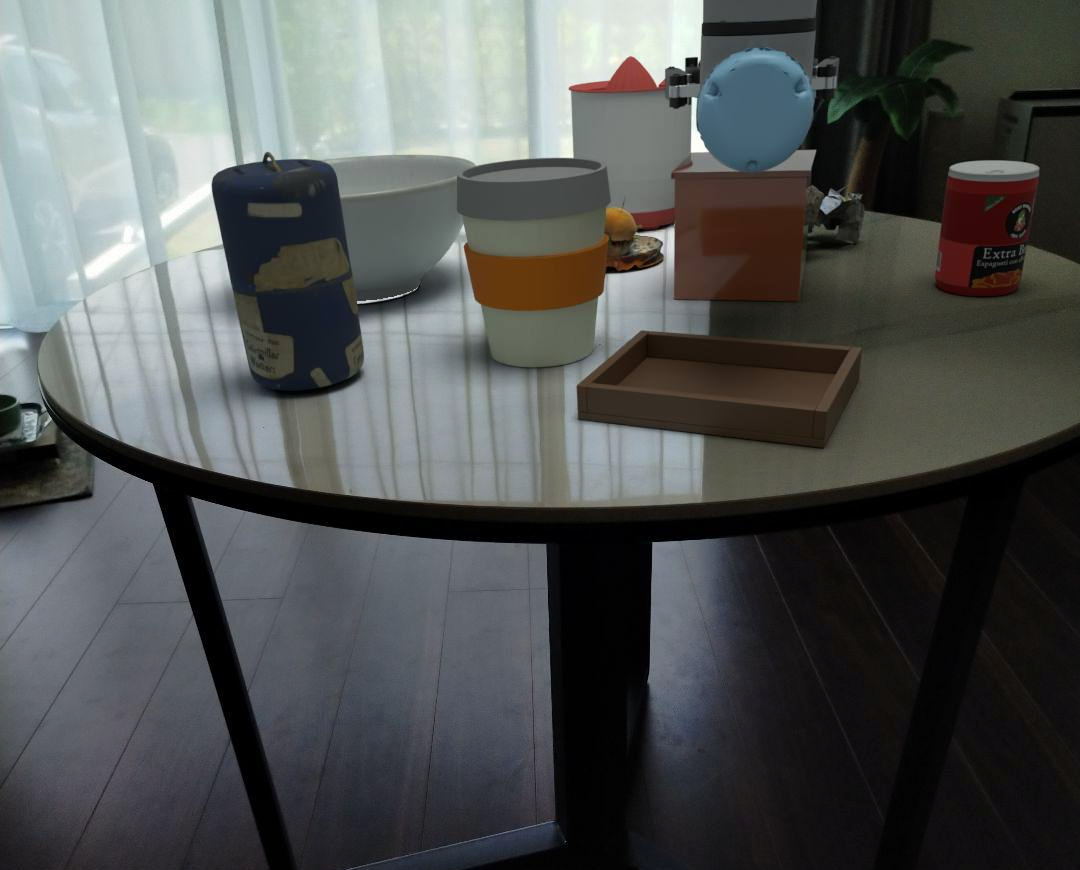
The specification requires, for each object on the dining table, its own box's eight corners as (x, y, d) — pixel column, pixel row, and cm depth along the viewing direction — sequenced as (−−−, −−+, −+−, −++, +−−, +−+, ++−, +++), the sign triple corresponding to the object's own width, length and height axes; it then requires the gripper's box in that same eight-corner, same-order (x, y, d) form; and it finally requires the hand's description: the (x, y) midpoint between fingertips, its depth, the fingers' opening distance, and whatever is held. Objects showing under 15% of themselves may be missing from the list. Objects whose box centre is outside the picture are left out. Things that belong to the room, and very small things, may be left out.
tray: (859, 380, 76) (862, 347, 75) (824, 448, 65) (827, 411, 64) (641, 360, 83) (640, 329, 82) (577, 419, 72) (576, 385, 71)
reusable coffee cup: (443, 351, 88) (424, 173, 81) (556, 320, 94) (547, 153, 87) (525, 385, 79) (512, 188, 72) (644, 349, 85) (643, 164, 78)
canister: (366, 355, 88) (334, 139, 80) (368, 391, 80) (333, 153, 71) (256, 367, 87) (212, 148, 78) (247, 404, 79) (196, 165, 70)
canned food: (977, 302, 92) (996, 177, 86) (915, 284, 98) (929, 166, 93) (1038, 288, 94) (1061, 166, 89) (974, 272, 101) (991, 157, 96)
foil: (906, 220, 109) (811, 152, 102) (849, 307, 112) (752, 248, 105) (848, 198, 118) (757, 135, 111) (797, 279, 122) (705, 223, 115)
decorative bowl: (434, 250, 124) (423, 147, 118) (527, 295, 103) (519, 172, 97) (217, 285, 114) (193, 175, 109) (270, 343, 93) (244, 210, 87)
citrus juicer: (703, 209, 137) (707, 48, 128) (679, 236, 123) (681, 57, 113) (594, 209, 142) (590, 53, 132) (559, 235, 128) (551, 63, 118)
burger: (645, 245, 120) (645, 180, 117) (678, 266, 110) (679, 196, 106) (549, 255, 118) (545, 190, 115) (573, 278, 108) (570, 207, 104)
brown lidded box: (808, 270, 105) (816, 149, 100) (801, 302, 95) (810, 170, 89) (689, 268, 109) (690, 152, 103) (670, 300, 98) (671, 172, 93)
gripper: (619, 151, 81) (642, 118, 100) (887, 139, 77) (857, 108, 97) (617, 48, 77) (641, 35, 97) (898, 31, 73) (864, 21, 93)
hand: (749, 71), depth 97 cm, fingers closed on grey container, 8 cm apart
